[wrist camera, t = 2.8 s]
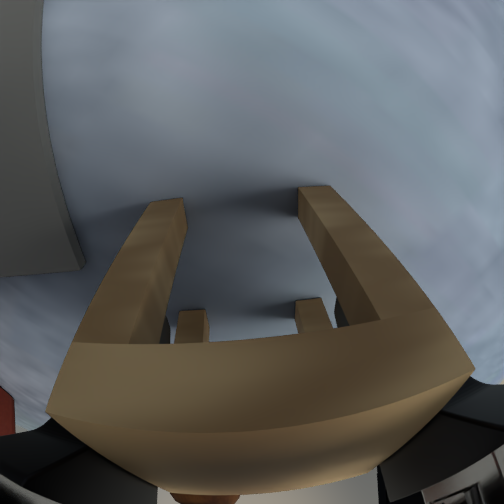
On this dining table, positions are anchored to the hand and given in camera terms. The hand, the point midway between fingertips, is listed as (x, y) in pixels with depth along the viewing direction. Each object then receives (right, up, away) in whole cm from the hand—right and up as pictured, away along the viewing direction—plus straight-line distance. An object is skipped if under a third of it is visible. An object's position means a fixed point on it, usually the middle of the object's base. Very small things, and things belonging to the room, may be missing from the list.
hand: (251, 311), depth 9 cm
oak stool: (0, +1, +2) cm, 2 cm away
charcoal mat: (-16, +8, -3) cm, 18 cm away
